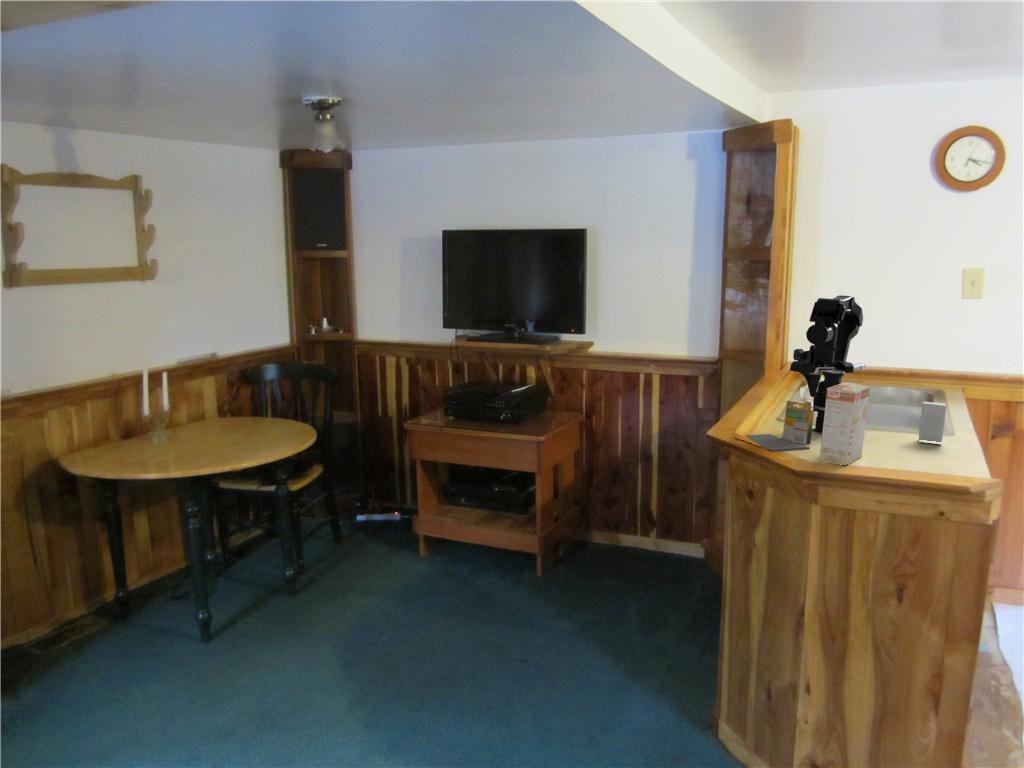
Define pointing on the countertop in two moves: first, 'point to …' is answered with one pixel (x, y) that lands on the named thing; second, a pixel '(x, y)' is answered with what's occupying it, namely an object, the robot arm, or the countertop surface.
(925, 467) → the countertop surface
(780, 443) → the mat
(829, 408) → the coffeecake box
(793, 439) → the crayon box
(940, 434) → the skincare box
